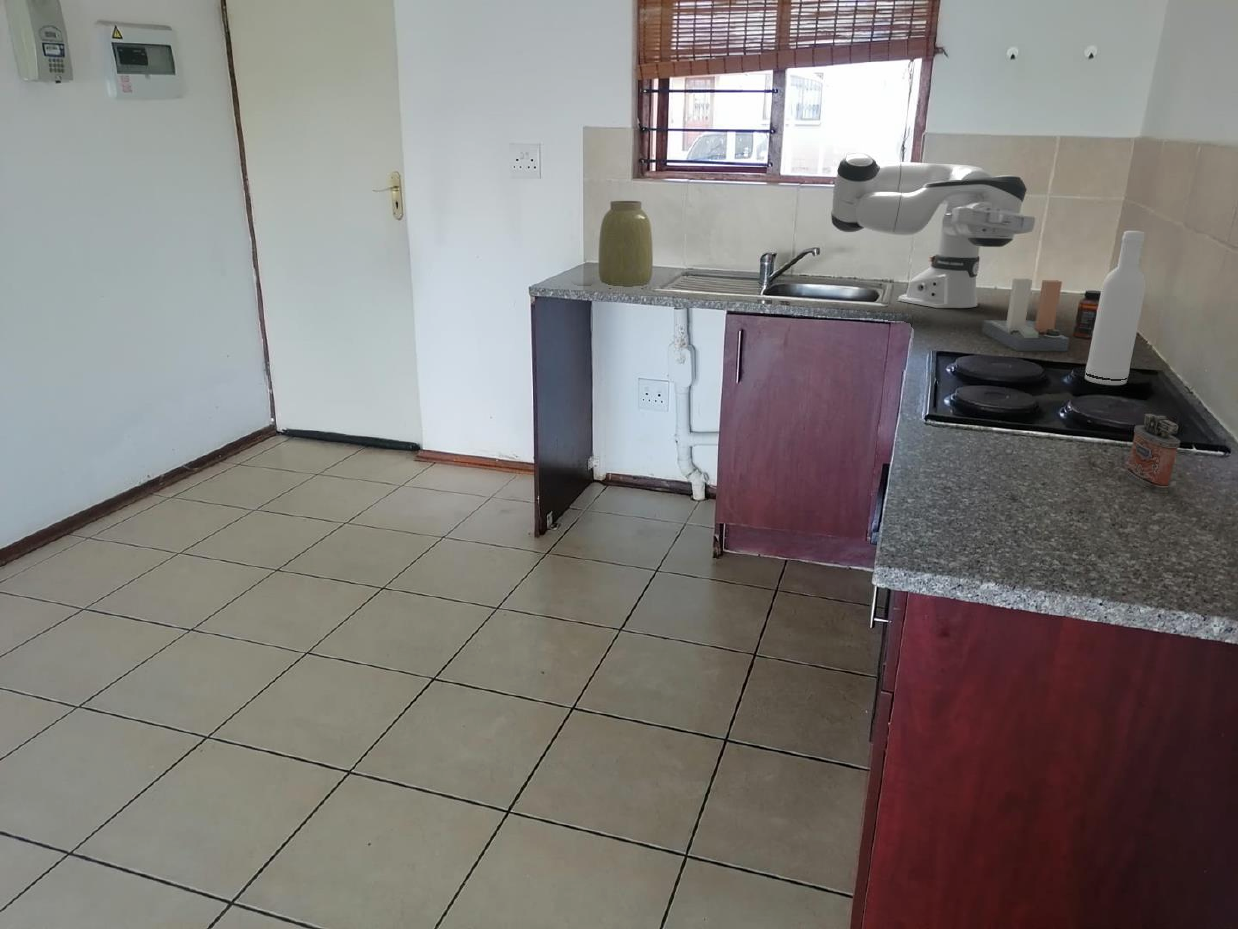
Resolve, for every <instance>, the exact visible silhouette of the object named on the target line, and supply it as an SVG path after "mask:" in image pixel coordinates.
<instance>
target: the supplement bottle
mask: <svg viewBox="0 0 1238 929" xmlns="http://www.w3.org/2000/svg"><path fill="white" fill-rule="evenodd" d="M1100 295H1101V291H1100V290H1092V289H1091V290H1090V289H1089V290H1085V292H1084V298H1082V299H1080V300H1079V302H1078V307H1077V312H1076V317H1075V322H1074V323H1075V324H1074V328H1073V335H1074V336H1075V337H1077V338H1081V339H1092V337H1093V331H1094V326H1095V321H1096V316H1097V310H1098V305H1099V300H1100Z"/></svg>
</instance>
